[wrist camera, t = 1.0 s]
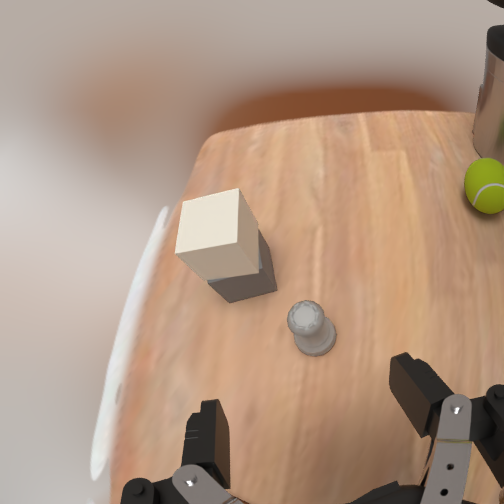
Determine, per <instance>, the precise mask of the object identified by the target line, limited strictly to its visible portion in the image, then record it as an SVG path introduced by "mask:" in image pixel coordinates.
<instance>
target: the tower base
mask: <svg viewBox="0 0 504 504" xmlns="http://www.w3.org/2000/svg"><path fill="white" fill-rule="evenodd" d="M258 245H259V273H256V274H249V275H242V276H235V277H228V278H221V279H214V280H208V284H209V285H210V286H211V287H212V288H213V289H214V290H215V291H216V292H218V293H219V294H220V295H221V296H222V297H223V298H224V299H225V300H227V301H228V302H229V303H232V302H236V301H240V300H244V299H248V298H251V297H255V296H259V295H263V294H267V293H270V292H274V291H277V286H276V281H275V276H274V270H273V265H272V260H271V255H270V250H269V247H268V245H267V243H266V241H265V240H264V238H263V236H262V234H261V232H260V231H259V229H258Z"/></svg>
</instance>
